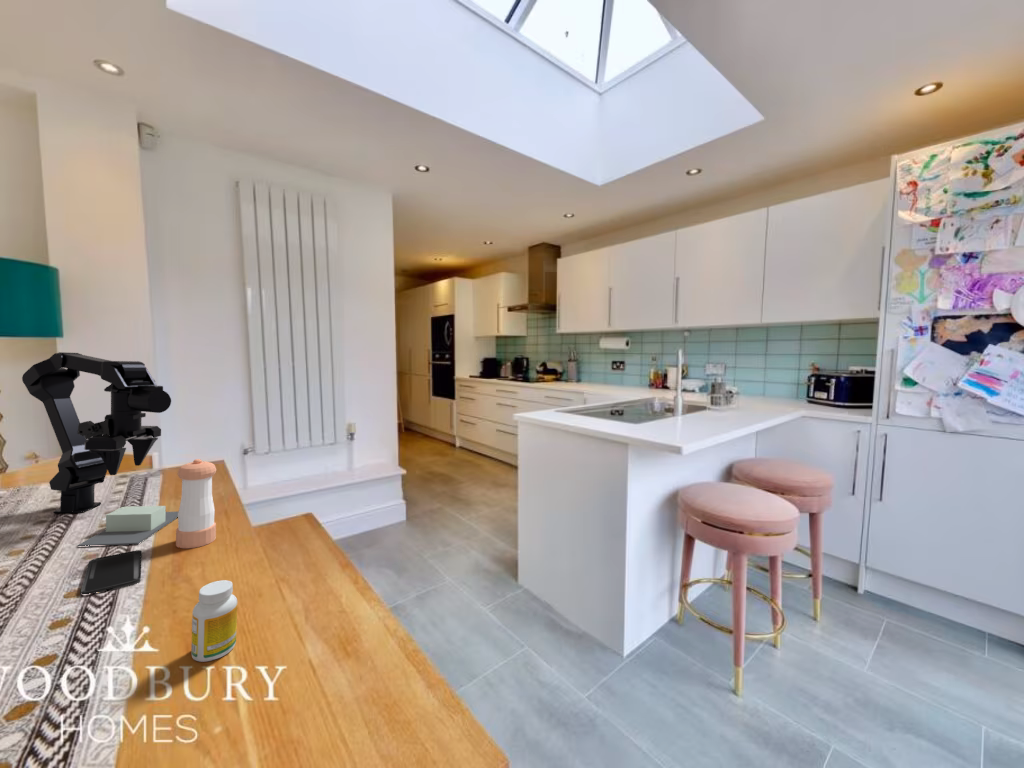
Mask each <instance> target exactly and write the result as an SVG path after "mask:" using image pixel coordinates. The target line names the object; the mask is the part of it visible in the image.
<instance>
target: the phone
mask: <svg viewBox="0 0 1024 768" xmlns="http://www.w3.org/2000/svg"><path fill="white" fill-rule="evenodd" d="M142 554H143V553H142V550H140V549H139V550H138V549H136V550H132V551H127V552H122V553H115V554H111V555H107V556H102V557H95V558H92V559H91V560H89V561H88V564H87V568H86V571H85V576H84V579H83V582H82V586H81V589H80V594H81V593H82V594H89V593H96V592H103V591H107V590H111V591H114V590H118V589H124V588H126V587H127V588H128V587H132V586H135V585H137V583H138V584H139V583H141V580H142V559H141V558H142V556H143V555H142ZM113 589H114V590H113ZM103 593H104V592H103Z"/></svg>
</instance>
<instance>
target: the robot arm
mask: <svg viewBox="0 0 1024 768" xmlns="http://www.w3.org/2000/svg"><path fill="white" fill-rule="evenodd" d="M81 372H82V373H87V374H91V375H97V376H99V377H100V379H101V380H102V381H105V382H108V383H109V385H108V386H106V387H105V388H104V389H103V390H104V392H107V393H110V414H106V415H105V416H104V420H103V421H98V422H93V421H92V420H88V421H82V422H80V419H79V417H78V413H77V411H76V409H75V407H74V403H73V401H72V398H71V395H72V393H73V391H74V390H75V383H74V381H76V380H77V379H78V378H79V377H80V376H81V374H80V373H81ZM22 374H23V375H22V377H21V379H22V382H23V385H25V386H24V387H25V388H26V390H27V392H28V393H29V395H31V396H32V397H34V398H36V399H37V400H39V401H41V402H42V405H44V409H45V412H46V414H47V417H48V419H49V421H50V425H51V427H52V429H53V432H54V435H55V436H56V440H57V442H58V445H59V447H60V450H61V452H62V453H61V457H60V459H59V460H58V463H57V469H58V472H57V473H56V474H55V475H54V476H53V477H52V478H51V479H50V480H49V482H48V483H49V487H50V489H51V491H57V492H59V491H60V499H59V500H60V503H59V506H60V508H58V509H55V510H53V514H65V513H66V514H70V513H73V514H75V513H85V512H87V511H90V510H92V509H94V508H96V507H98V506H100V505H102V501H101V502H99V501H97V502H96V501H95V485H97V484H101V483H102V484H103V483H104V481H105V479H106V475H107V472H108V474H109V475H110V476H116V475H117V474H118V472H119V469H120V467H121V463H122V460H123V458H124V456H125V453H126V450H127V447H125V446H126V443H127V442H128V443H129V445H131V447H132V454H133V455H132V456H133V462H134V465H135V466H136V467H137V466H138V467H139V466H141V465H142V463H143V461H144V460H145V459H146V457H147V455H148V453H149V451H151V449H152V447H153V446H154V445H155V443H156V441H158V439H159V437H161V436H162V428H160V427H159V426H158V425H142V418H146V416H147V414H146V413H156V414H157V413H158V414H160V413H164V412H166V411H167V410H168V409H169V408H170V406H171V404H172V398H171V397H170V394H169V393H168V392H167V391H165V390H164V386H163V385H158V384H157V383H156V380H155V379H154V378H153V376H152V375H151V373H150V371H149V370H148V368H147V367H146V365H145V363H144V362H142V361H138V360H137V361H135V360H134V361H133V360H132V361H131V360H130V361H128V360H111V359H110V360H109V359H104V358H100V357H94V356H89V355H85V354H82V353H79V352H59V351H58V352H56V353H54V354H52V355H51V356H50V357H49V358H46V359H44V360H42V361H39V362H36V363H34V364H33V365H31V366H30V368H28V369H27V370H26V371H25V372H24V373H22Z"/></svg>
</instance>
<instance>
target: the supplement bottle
mask: <svg viewBox="0 0 1024 768" xmlns="http://www.w3.org/2000/svg"><path fill="white" fill-rule="evenodd" d="M233 586H234V585H233V582H232V581H231V580H225V579H224V580H223V579H221V580H217V581H216V580H215V581H212V582H210V583H207V584H205V585H204V586H201V588H200V589H199V592H198V602H197V603H196V604H195V605H194V606H193V609H192V612H191V613H192V616H191V648H190V649H191V657H192V659H193V660H194V661H197V662H200V663H201V662H202V663H203V662H204V663H205V662H211V661H214V660H218V659H220V658H223V657H224V656H226V655H227V654H228V653H230V652H231V651H232V650H233V649H234V647H235V646H236V642H237V630H238V629H237V623H238V598H237V597H236V595H234V594H233V591H234V589H233V588H234V587H233Z"/></svg>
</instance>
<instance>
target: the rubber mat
mask: <svg viewBox="0 0 1024 768" xmlns="http://www.w3.org/2000/svg"><path fill="white" fill-rule="evenodd" d="M178 512H179V510H177V511H166V515H165V522H164V523H162V524H161V525H159V526H157V527H156V528H154V529H153V530H151V531H118V532H106V529H104V530H102V531H101V532H99V533H97V534H95V535H94V536H92V537H89V539H86V540H84V541H83V542H81V543H79V544H77V546H85V545H86V546H88V545H89V546H90V545H123V546H130V545H129V544H139V543H140V542H141V543H142V541H143V540H144V541H145V539H146V538H147V539H149V538H150V537H152V536H153V535H155V534H156V533H158V532H159V531H161V530H162V529H163V527H164V526H165V527H167V526H168V525H170V524H171V523H173V522H174V521H175V520H177V519H178V518H177V517H178ZM176 518H177V519H176ZM173 520H174V521H173ZM172 521H173V522H172ZM170 522H171V523H170ZM169 523H170V524H169ZM167 524H168V525H167ZM166 525H167V526H166ZM165 527H164V528H165ZM161 528H162V529H161ZM160 529H161V530H160ZM158 530H159V531H158ZM157 531H158V532H157ZM155 532H156V533H155ZM154 533H155V534H154ZM152 534H153V535H152ZM151 535H152V536H151ZM149 536H150V537H149ZM148 537H149V538H148ZM147 539H146V540H147ZM144 541H143V542H144ZM141 543H140V544H141ZM140 544H139V545H140Z"/></svg>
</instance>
